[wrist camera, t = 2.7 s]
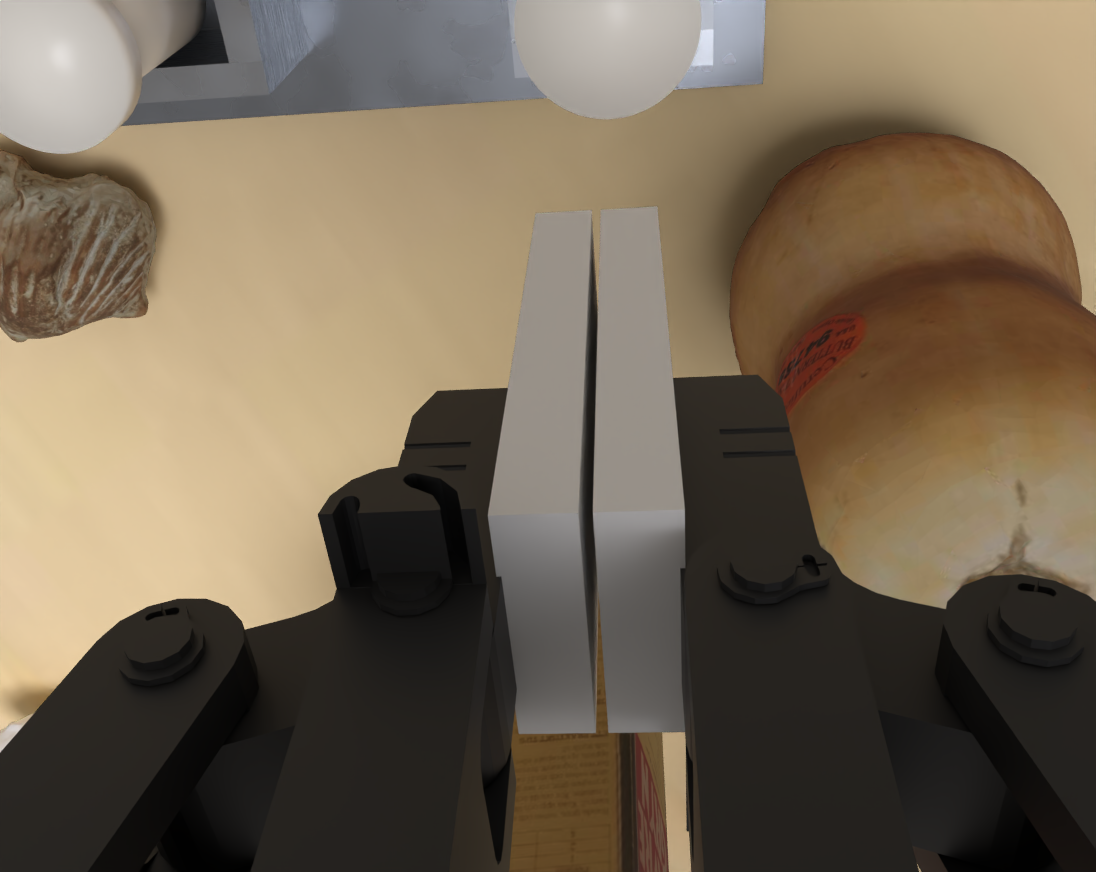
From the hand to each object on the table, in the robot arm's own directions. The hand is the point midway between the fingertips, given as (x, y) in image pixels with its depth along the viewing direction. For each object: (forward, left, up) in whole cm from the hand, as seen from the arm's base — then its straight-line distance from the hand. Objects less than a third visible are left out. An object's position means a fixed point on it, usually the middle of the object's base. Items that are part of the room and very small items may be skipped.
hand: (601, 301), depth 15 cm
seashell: (-11, +26, -33) cm, 43 cm away
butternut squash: (-14, -11, -33) cm, 37 cm away
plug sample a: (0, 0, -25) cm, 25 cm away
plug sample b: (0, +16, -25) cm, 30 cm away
